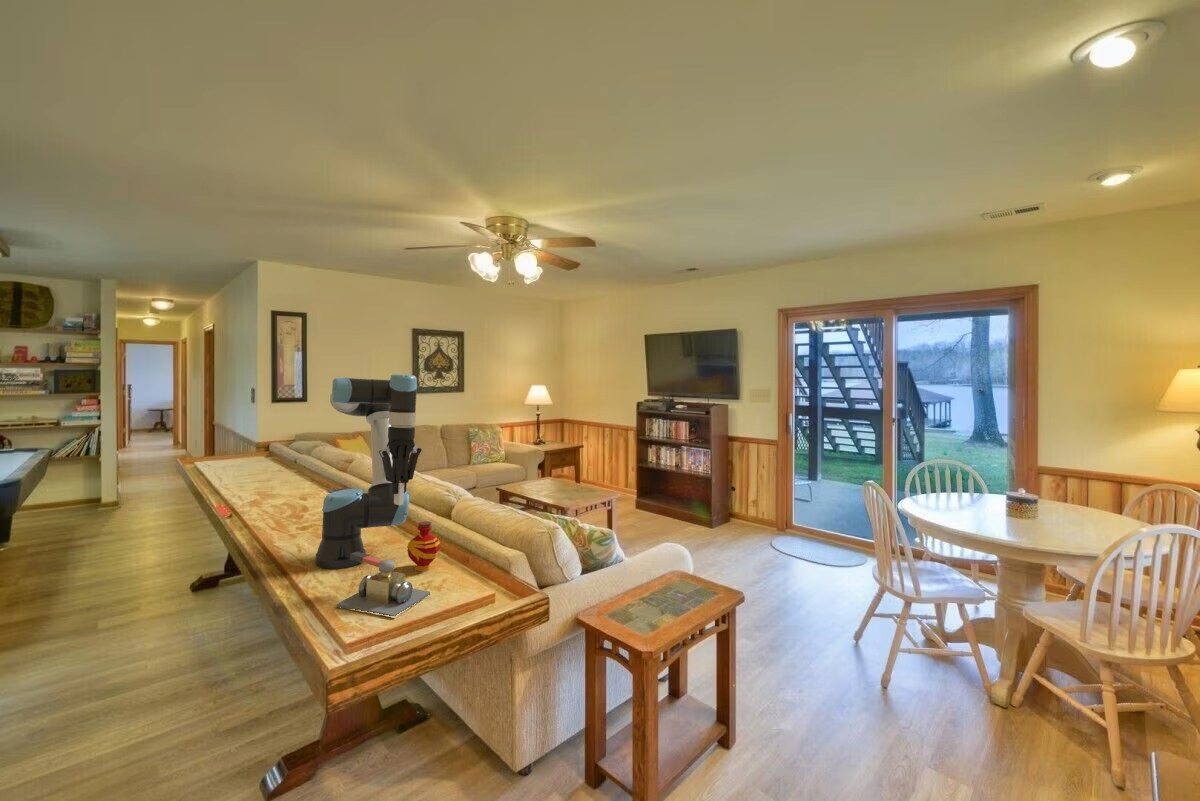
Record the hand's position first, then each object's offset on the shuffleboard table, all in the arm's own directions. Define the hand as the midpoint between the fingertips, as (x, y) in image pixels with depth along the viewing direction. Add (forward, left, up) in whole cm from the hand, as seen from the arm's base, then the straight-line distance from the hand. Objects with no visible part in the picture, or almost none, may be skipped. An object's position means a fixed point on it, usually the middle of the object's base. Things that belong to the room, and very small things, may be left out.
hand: (398, 504), depth 154 cm
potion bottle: (0, +14, -25) cm, 28 cm away
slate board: (+5, -11, -24) cm, 27 cm away
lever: (-1, -10, -15) cm, 18 cm away
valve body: (+5, -11, -24) cm, 27 cm away
